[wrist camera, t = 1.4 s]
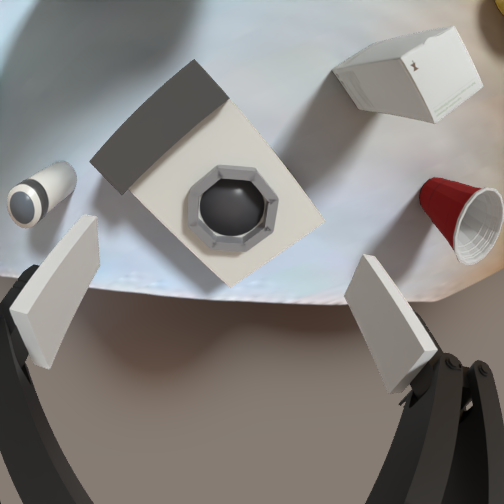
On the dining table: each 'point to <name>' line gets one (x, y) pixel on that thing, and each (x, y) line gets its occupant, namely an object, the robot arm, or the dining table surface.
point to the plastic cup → (464, 216)
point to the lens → (40, 193)
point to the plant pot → (500, 5)
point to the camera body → (208, 176)
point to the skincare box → (412, 75)
